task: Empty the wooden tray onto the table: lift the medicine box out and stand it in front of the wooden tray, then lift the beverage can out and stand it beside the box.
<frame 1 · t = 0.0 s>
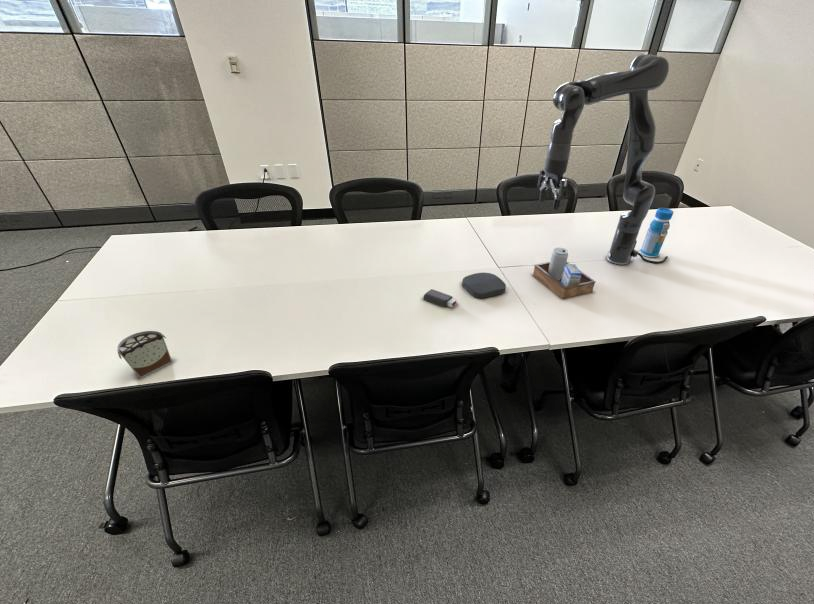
hand: (548, 205, 152), 29 cm above the table, tool pointing down, fingers open, 8 cm apart
medicine box: (568, 288, 167), resting in wooden tray
usb drive: (440, 301, 156), on the table
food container: (151, 366, 123), on the table
beverage can: (554, 278, 173), resting in wooden tray
media streaming box: (483, 288, 164), on the table
wooden tray: (561, 283, 169), on the table
beverage bottle: (648, 254, 193), on the table
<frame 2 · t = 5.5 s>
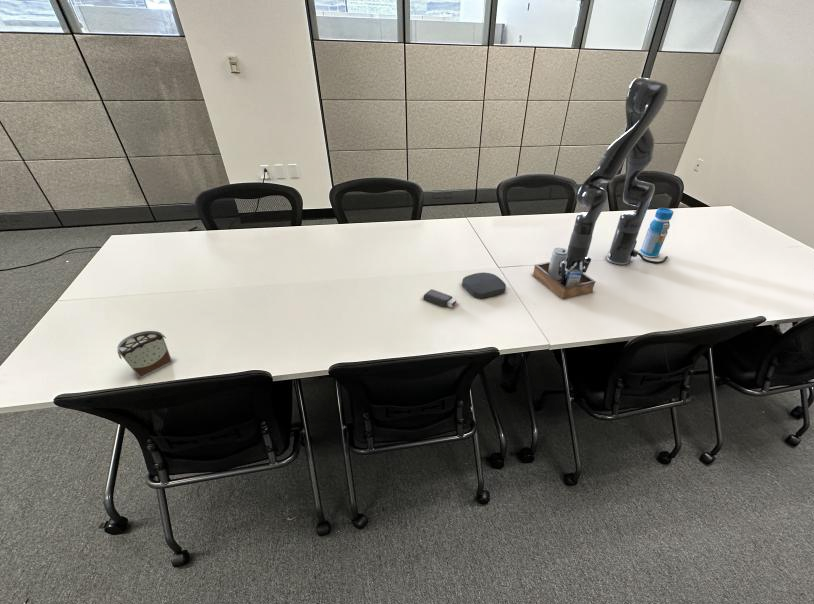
hand: (569, 283, 165), 2 cm above the table, tool pointing down, fingers closed on medicine box, 5 cm apart
medicine box: (568, 288, 167), resting in wooden tray, touching gripper
everything else where it was.
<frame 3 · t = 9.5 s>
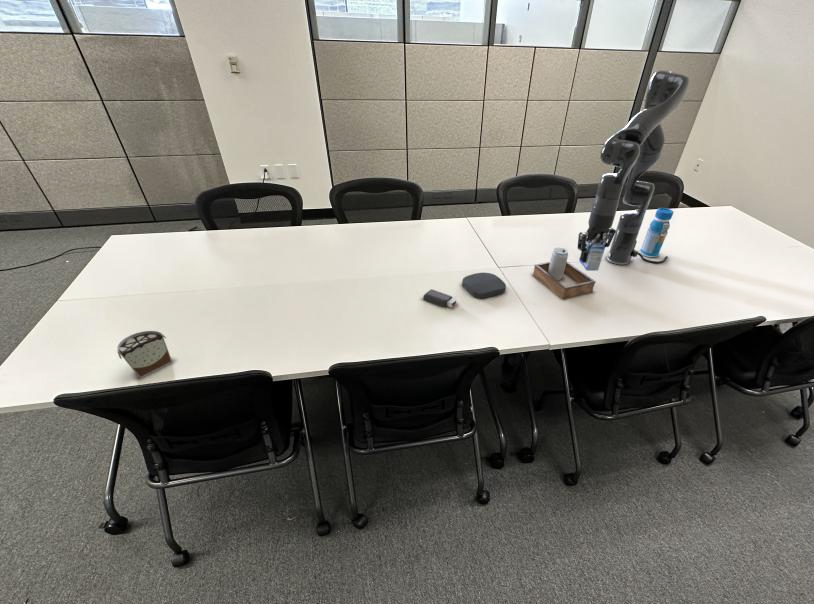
hand: (589, 260, 144), 19 cm above the table, tool pointing down, fingers closed on medicine box, 5 cm apart
medicine box: (588, 266, 145), point 17 cm above the table, touching gripper
everything else where it was.
when the fingers open (2 cm above the table, at t = 13.6 s): medicine box stays where it is, on the table.
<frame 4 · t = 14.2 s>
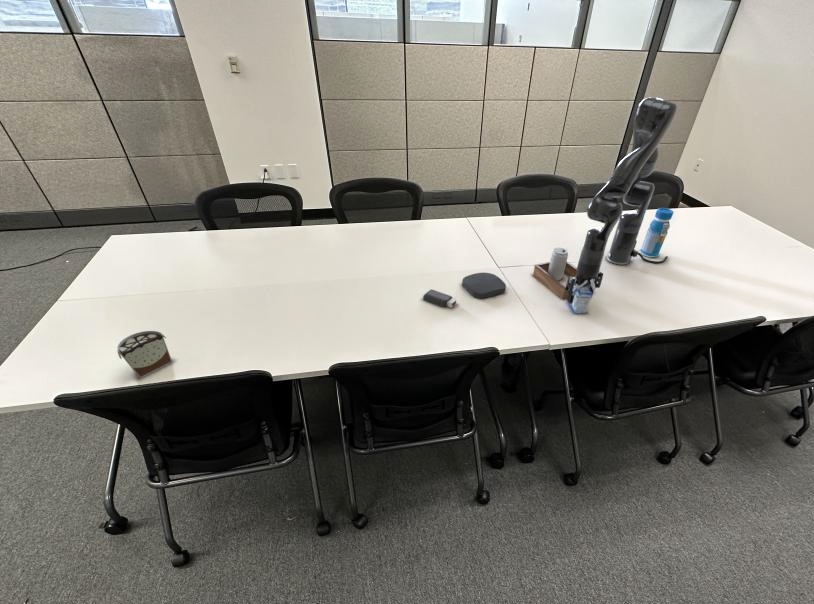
hand: (579, 300, 154), 3 cm above the table, tool pointing down, fingers open, 8 cm apart
medicine box: (577, 308, 156), on the table
everything else where it was.
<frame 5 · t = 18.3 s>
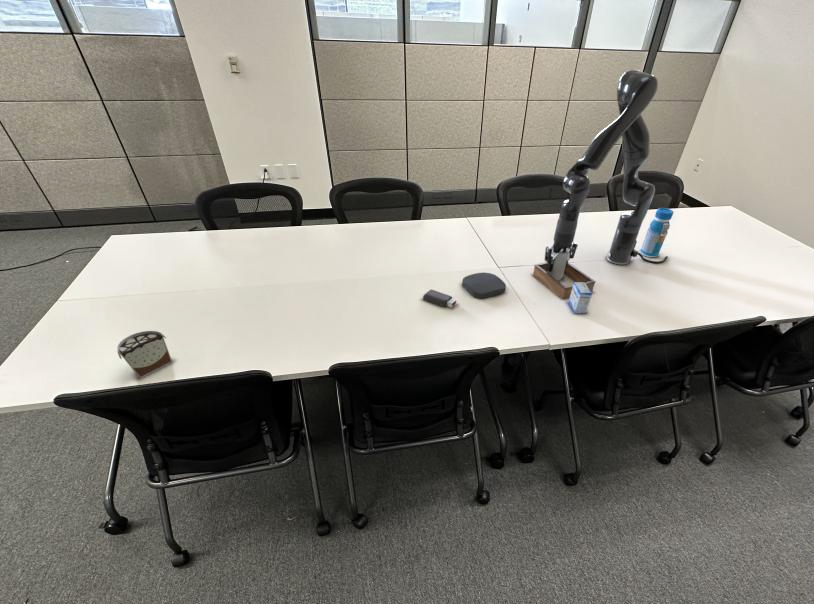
hand: (556, 269, 170), 4 cm above the table, tool pointing down, fingers closed on beverage can, 6 cm apart
beverage can: (554, 278, 173), resting in wooden tray, touching gripper
everything else where it was.
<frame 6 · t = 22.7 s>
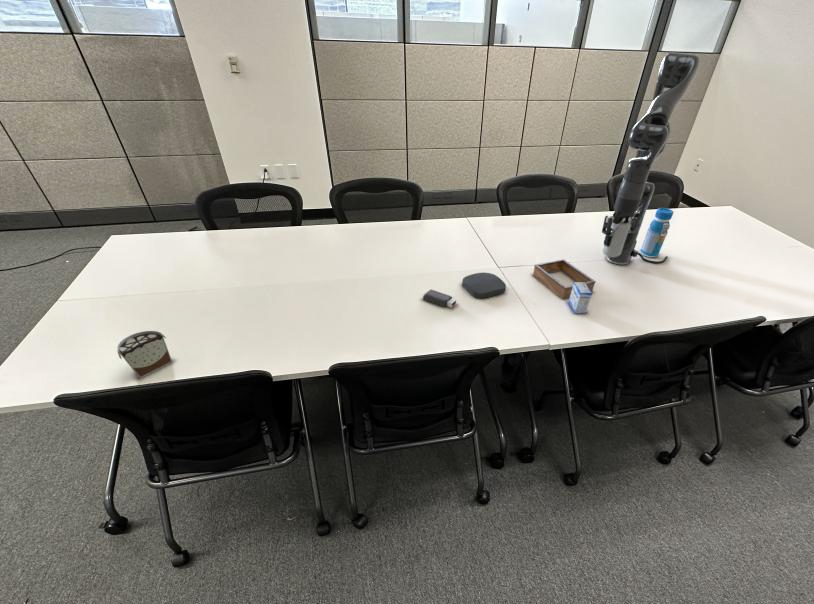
hand: (614, 244, 146), 22 cm above the table, tool pointing down, fingers closed on beverage can, 6 cm apart
beverage can: (610, 254, 149), point 18 cm above the table, touching gripper
everything else where it was.
when the fingers open (4 cm above the table, at t = 27.2 s): beverage can stays where it is, on the table.
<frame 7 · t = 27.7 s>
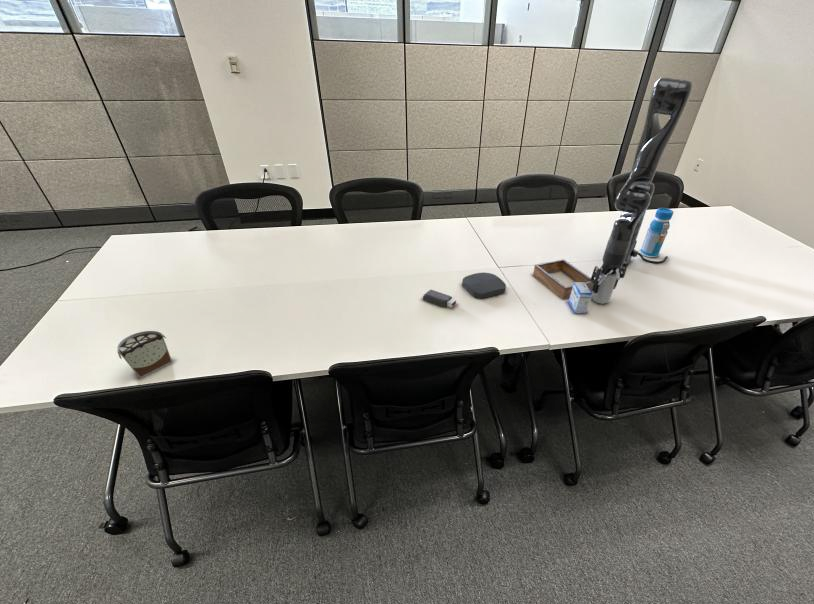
hand: (603, 290, 157), 4 cm above the table, tool pointing down, fingers open, 8 cm apart
beverage can: (600, 300, 160), on the table
everything else where it was.
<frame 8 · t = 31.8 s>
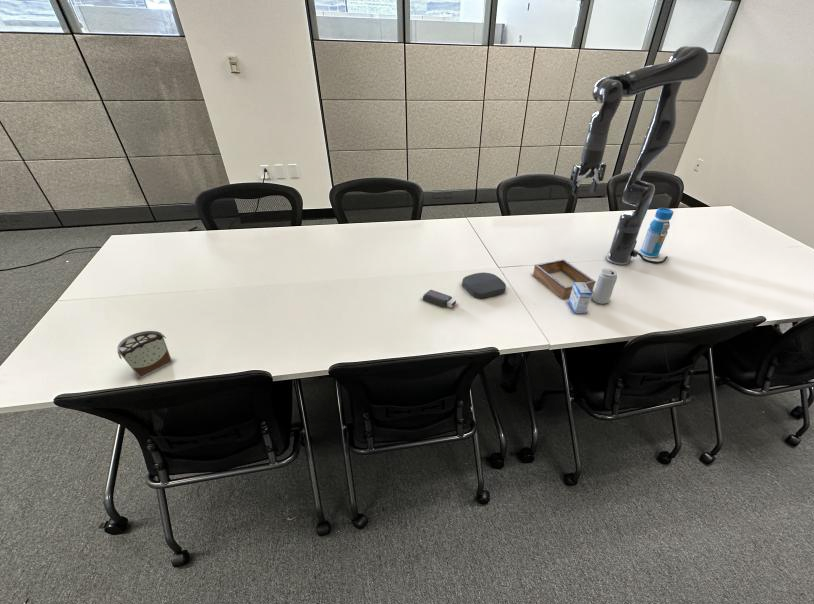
hand: (583, 193, 161), 30 cm above the table, tool pointing down, fingers open, 8 cm apart
nothing on the table moved.
at the end: medicine box inside the target area (0.1 cm from its centre), on the table; beverage can inside the target area (0.0 cm from its centre), on the table; beverage can tilted 0° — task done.
